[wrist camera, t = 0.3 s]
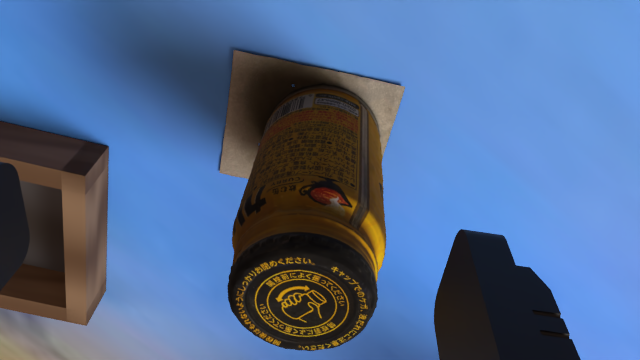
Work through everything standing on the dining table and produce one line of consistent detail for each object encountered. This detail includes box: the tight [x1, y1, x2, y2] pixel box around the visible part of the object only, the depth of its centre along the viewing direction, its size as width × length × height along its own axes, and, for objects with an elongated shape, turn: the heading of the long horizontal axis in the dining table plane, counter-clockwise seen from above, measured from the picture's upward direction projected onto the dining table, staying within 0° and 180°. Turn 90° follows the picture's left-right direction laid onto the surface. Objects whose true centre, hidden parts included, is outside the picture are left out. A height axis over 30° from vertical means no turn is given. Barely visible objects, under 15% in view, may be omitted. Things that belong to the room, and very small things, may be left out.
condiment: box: [220, 50, 405, 351], centre depth 23 cm, size 7×8×12 cm
